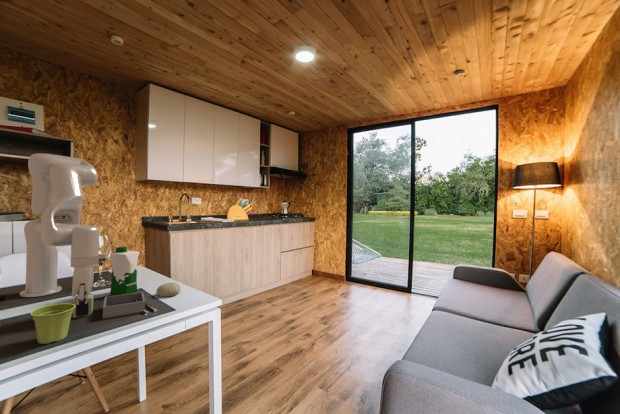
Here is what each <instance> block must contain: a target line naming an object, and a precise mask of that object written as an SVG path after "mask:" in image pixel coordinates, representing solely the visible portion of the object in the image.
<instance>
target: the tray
mask: <svg viewBox="0 0 620 414" xmlns="http://www.w3.org/2000/svg"><path fill="white" fill-rule="evenodd" d="M136 300H137V301H139V302H133V301H136ZM132 302H133V303H132ZM143 310H145V311H146V299H145V294H144V291H139V292H138V291H137V292H134V293H131V294H123V295H110V296H109V295H108V296H104V301H103V306H102V320H107V319H113V318H118V317H123V316H129V315H130V316H131V315H136V314H142V313H143V312H142V311H143ZM141 312H142V313H141Z"/></svg>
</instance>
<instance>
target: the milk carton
mask: <svg viewBox="0 0 620 414" xmlns="http://www.w3.org/2000/svg"><path fill="white" fill-rule="evenodd" d="M127 248H128V247H127V246H117V247H115V251H113V252H110V253H109V256H110V259H111V276H110V277H111V279H110V281H111V282H110V283H111V284H110V289H109V291H110V292H109V295H110V296H116V295H123V294H131V293H138V281H137V279H138V271H137V270H138V261H139V260H138V259H139V256H140V251H136V250H128V249H127Z"/></svg>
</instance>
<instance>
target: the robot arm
mask: <svg viewBox="0 0 620 414" xmlns="http://www.w3.org/2000/svg"><path fill="white" fill-rule="evenodd" d="M27 165H28V168H27V169H28V171H29V175H30V177H31V181H32V189H31V190H32V191H31V193H32V194H31V205H30V206H31V212H32V214H34V215H35V216H38V217H39V216H40V217H41V218H36V219H32V220H29V221H27V222H26V223H25V224H24V226H23V233H24V238H25V246H26V257H25V259H26V261H25V263H26V264H25V289H24V290H22V291H20V292H19V296H20V297H22V298H36V297H43V296H48V295H53V294H57V293H59V292H61V291H62V286H60V285H58V259H59V256H58V255H59V250H58V249H57V247H67V246H70V268H73V273H72V274H73V275H72V287H71V288H72V289H71V296H72V297H73V298H75V296H77V304H76V316H81V317H84V316H83V315H87V314H88V305H89V303H88V295H89V294H92V289H93V286H94V285H93V284H94V275H95V266H98V265H99V250H100V248H99V247H100V244H99V243H100V230H99V227H97V226H93V225H90V224H86V223H85V224H84V223H83V224H81V220H82V219H81V217H82V203H83V202H84V201H85V196H84V191H83V187H84V186H86V187H93V186H95V185H96V184H97V183H98V179H99V177H98V176H99V175H98V172H97V169H96V168H95V167H94V166H93V165H92V164H91V163H89V162H88V161H86V160H85V159H84V158H79V157H71V156H67V155H66V156H65V155H61V154H60V155H58V154H52V153H34V154H31V155H30V156H29V158H28V161H27ZM82 186H83V187H82ZM55 217H65V218H55ZM84 296H86V298H85V297H84ZM87 316H88V315H87Z"/></svg>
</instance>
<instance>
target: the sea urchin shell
mask: <svg viewBox="0 0 620 414" xmlns="http://www.w3.org/2000/svg"><path fill="white" fill-rule="evenodd" d="M180 291H181V286H180V285H179V284H178V283H176V282H166V283H163V284H161V285H159V286H158V287H157V289H156V295H157V296H159V297H161V298H168V297H174V296H176V295H178V294H179V293H180Z"/></svg>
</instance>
